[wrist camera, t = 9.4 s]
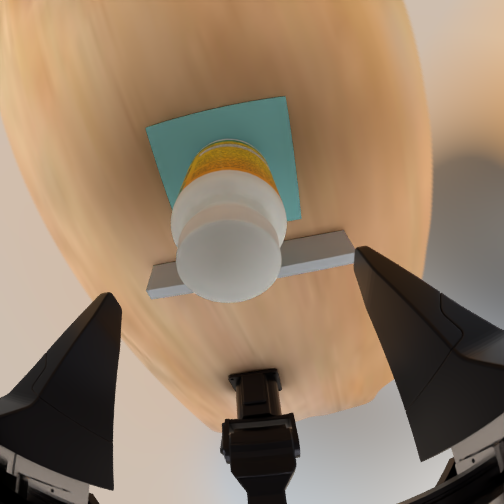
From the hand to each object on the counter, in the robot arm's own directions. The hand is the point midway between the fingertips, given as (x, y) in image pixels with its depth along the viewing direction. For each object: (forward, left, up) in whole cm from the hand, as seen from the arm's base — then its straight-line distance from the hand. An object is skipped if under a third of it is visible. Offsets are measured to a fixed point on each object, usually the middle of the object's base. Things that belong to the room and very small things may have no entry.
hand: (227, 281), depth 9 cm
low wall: (-7, 0, -11) cm, 13 cm away
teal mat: (0, 0, -11) cm, 11 cm away
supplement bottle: (0, 0, -11) cm, 11 cm away
